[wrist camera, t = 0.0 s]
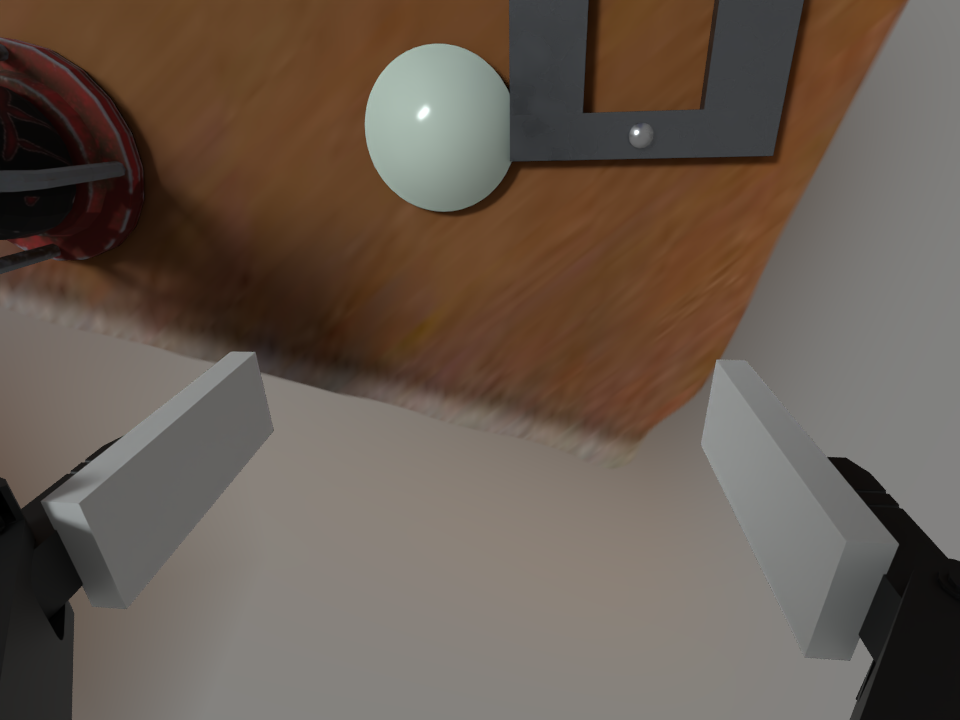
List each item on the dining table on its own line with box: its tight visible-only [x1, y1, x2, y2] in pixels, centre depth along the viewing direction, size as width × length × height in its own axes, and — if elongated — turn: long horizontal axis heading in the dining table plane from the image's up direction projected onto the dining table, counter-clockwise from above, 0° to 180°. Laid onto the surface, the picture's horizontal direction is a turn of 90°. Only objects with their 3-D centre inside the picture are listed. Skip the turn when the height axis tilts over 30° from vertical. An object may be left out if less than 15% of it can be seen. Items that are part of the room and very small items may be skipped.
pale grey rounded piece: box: [365, 44, 512, 212], centre depth 38 cm, size 11×11×1 cm
